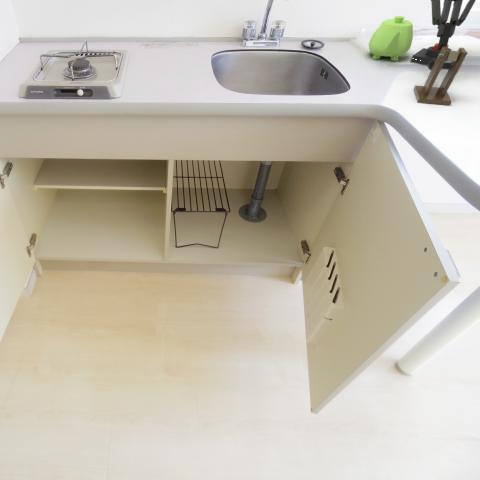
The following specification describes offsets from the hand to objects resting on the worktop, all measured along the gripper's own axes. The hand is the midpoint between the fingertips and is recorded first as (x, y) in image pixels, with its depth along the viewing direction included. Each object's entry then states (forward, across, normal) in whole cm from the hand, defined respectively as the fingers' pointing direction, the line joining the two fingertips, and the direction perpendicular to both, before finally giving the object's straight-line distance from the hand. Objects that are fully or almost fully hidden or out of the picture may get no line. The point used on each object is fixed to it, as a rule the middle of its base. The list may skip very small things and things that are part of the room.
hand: (442, 47), depth 102 cm
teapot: (-9, +10, -24) cm, 28 cm away
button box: (-8, -5, -22) cm, 24 cm away
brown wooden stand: (+16, 0, +1) cm, 16 cm away
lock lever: (+8, 0, +3) cm, 8 cm away
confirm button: (-10, -5, -19) cm, 22 cm away
